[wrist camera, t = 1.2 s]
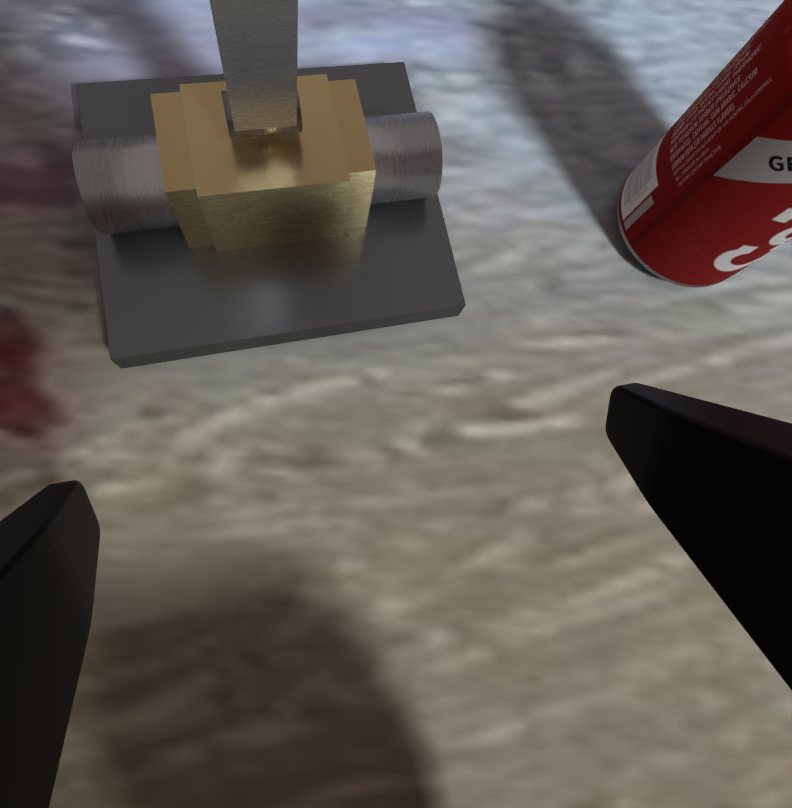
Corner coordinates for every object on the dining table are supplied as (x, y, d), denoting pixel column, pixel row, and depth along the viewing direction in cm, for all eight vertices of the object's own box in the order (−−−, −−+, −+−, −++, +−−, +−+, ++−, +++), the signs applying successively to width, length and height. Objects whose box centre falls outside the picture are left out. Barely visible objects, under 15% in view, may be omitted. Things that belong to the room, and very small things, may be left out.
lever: (346, 147, 20) (407, -180, 9) (188, 162, 19) (53, -185, 8) (334, 86, 20) (382, -308, 9) (176, 98, 19) (27, -328, 8)
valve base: (458, 315, 25) (494, 262, 20) (120, 368, 22) (67, 322, 17) (399, 82, 27) (419, -16, 22) (87, 105, 24) (32, 0, 20)
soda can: (583, 233, 27) (792, 3, 15) (651, 143, 28) (886, -126, 17) (697, 321, 26) (998, 157, 15) (759, 224, 28) (1071, 10, 17)
